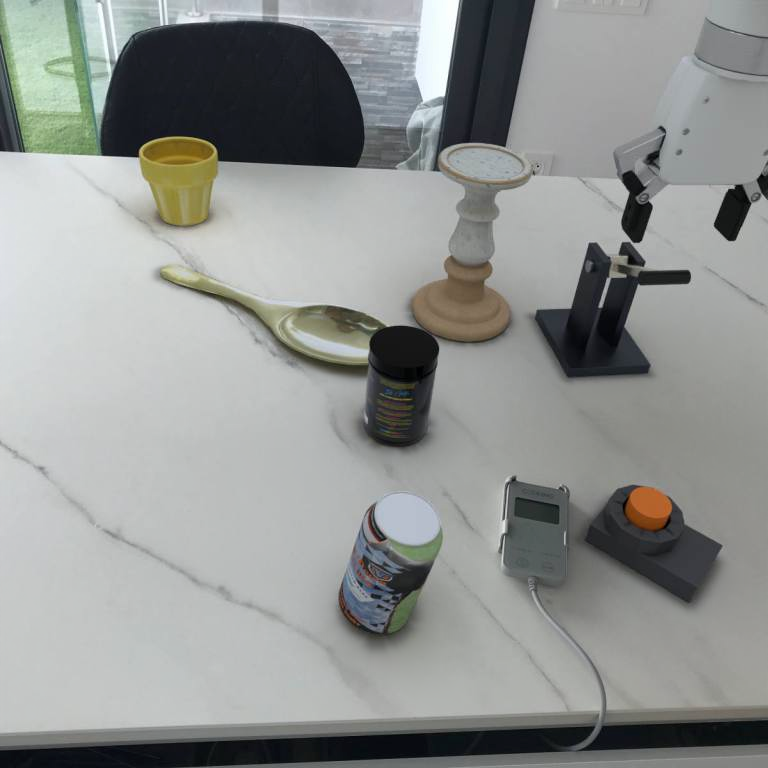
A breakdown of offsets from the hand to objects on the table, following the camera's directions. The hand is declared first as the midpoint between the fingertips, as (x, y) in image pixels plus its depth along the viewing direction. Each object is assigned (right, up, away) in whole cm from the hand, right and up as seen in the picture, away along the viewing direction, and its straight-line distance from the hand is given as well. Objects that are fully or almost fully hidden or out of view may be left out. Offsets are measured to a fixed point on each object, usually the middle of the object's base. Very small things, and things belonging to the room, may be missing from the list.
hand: (677, 235), depth 74 cm
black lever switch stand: (-3, -9, +20) cm, 22 cm away
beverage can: (-28, -33, -11) cm, 45 cm away
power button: (-5, -26, -6) cm, 27 cm away
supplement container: (-27, -19, +6) cm, 33 cm away
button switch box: (-4, -29, -4) cm, 30 cm away
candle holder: (-19, -6, +23) cm, 30 cm away
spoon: (-42, -6, +20) cm, 46 cm away
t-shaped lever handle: (-1, -3, +9) cm, 9 cm away
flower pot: (-57, +10, +38) cm, 69 cm away
